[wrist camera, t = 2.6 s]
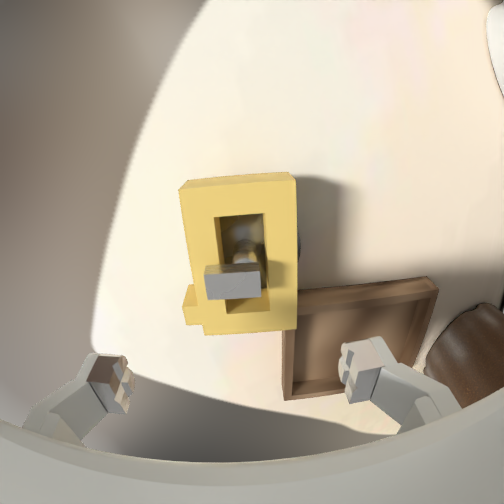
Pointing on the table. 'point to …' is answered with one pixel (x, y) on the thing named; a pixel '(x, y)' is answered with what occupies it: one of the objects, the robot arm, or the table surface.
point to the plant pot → (470, 355)
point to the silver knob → (240, 259)
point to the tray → (352, 330)
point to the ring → (211, 253)
